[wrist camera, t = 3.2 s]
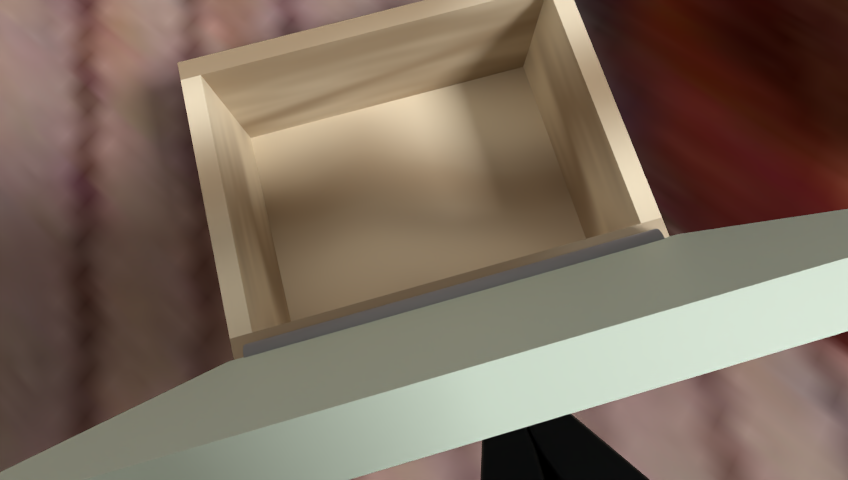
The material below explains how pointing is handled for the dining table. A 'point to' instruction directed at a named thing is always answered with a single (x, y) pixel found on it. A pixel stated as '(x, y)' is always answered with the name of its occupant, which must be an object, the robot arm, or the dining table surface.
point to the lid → (479, 358)
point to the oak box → (405, 157)
